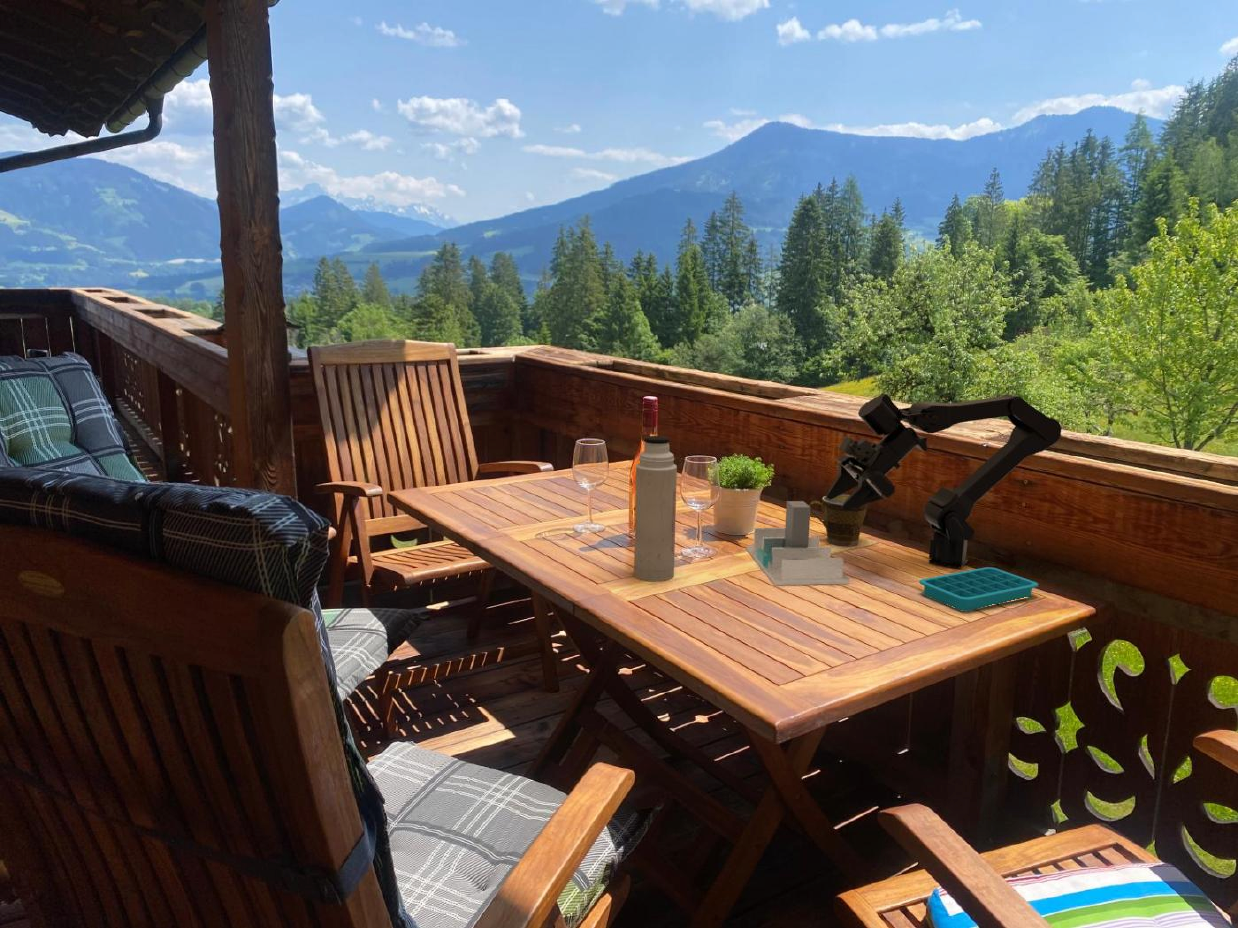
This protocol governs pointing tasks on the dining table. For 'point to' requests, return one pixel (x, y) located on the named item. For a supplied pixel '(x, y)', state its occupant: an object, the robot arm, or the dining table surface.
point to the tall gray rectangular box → (797, 524)
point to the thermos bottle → (655, 511)
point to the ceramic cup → (841, 520)
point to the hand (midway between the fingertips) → (835, 503)
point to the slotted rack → (795, 560)
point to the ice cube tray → (977, 588)
